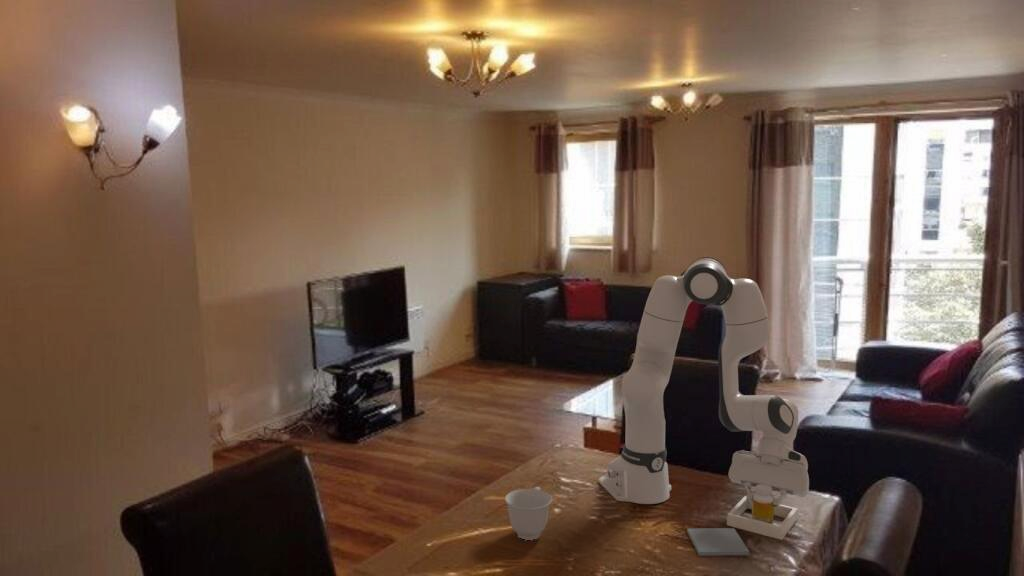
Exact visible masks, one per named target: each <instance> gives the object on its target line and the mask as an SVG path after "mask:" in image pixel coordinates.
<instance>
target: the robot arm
mask: <svg viewBox="0 0 1024 576" xmlns="http://www.w3.org/2000/svg"><path fill="white" fill-rule="evenodd" d="M692 302H695V303H698V304H701V305H707V306H708V305H710V306H718V307H721V310H722V313H723V319H724V323H725V337H724V339H723V340H722V341H721V342H720V344H719V346H718V347H719V348H718V356H717V358H718V360H717V361H718V381H719V382H718V384H719V402H718V403H719V404H718V418H719V421H720V422H721V424H722V425H723V426H724V427H725V428H726V429H727V430H728V431H729V432H731V433H734V432H745V431H746V432H747V431H748V432H762V434H761V437H760V439H759V440H758V444H757V448H756V449H757V450H756V452H755V451H746V450H744V449H740V450H737V451H735V452H734V453H733V454H732V458H731V461H732V462H731V465H730V467H729V469H728V473H727V474H728V478H729V479H730V482H731V483H734V484H740V485H744V487H745V490H746V492H747V494H746V496H747V497H746V500H747V501H750V502H752V500H753V494H754V493H751V492H750V491H751V490H752V489H753V488H756V485H758V484H764V485H769V486H771V487H772V492H778V493H779V494H780V495H779V496H778V497H777V498H775V497H774V502H773V507H777V508H780V504H781V503H782V502H783V501H784V500H786V498H787V496H788V495H790V496H796V497H800V498H805V497H806V496H808V495H809V488H810V478H809V473H808V469H809V463H808V460H807V458H806V456H805V455H803V454H801V453H800V452H797V451H795V450H794V446H793V444H794V440H795V439H796V437H797V432H798V425H799V409H798V406H797V405H796V404H795V403H794V401H793V402H792V401H791V400H789V399H787V398H784V397H780V396H778V395H773V394H758V395H757V394H756V395H753V394H750V395H749V394H747V395H746V394H745V395H744V394H742V393H741V392H740V391H739V390H740V389H739V364H740V361H741V360H742V359H743V358H745V357H748V356H749V355H752V354H753V353H756V352H758V351H759V350H761V349H762V348H763V347H764V346H765V345H766V344H767V343H768V341H769V339H770V336H771V325H770V320H769V315H768V310H767V306H766V303H765V299H764V297H763V294H762V292H761V290H760V288H759V285H758V283H757V282H756V281H754V280H753V279H750V278H745V277H744V278H742V277H741V278H736V279H735V278H731V277H730V276H728V274H727V269H726V268H725V265H724V264H723V263H722V262H721V261H719V260H718V259H716V258H713V257H709V256H705V257H700V258H697V259H696V260H695V261H693V262H692V263H691V264H690V265H689V266H688V267H687V268H686V269H684V271H683V272H682V273H681V274H680V276H677V275H671V274H670V275H669V274H668V275H666V274H665V275H662V276H659V277H658V278H656V280H655V282H654V283H653V285H652V287H651V290H650V292H649V294H648V297H647V300H646V303H645V305H644V309H643V314H642V317H641V320H640V325H639V328H638V332H637V335H636V346H635V351H634V355H633V357H634V358H633V361H632V364H631V367H630V368H629V370H628V371H627V372H626V373H625V375H624V376H623V378H622V383H621V393H622V397H623V398H622V400H623V409H624V410H623V411H624V416H625V439H624V440H625V443H621V444H620V447H619V449H622V451H621V455H619V456H618V457H615V458H614V459H613V460H611V461H609V463H608V464H607V467H606V474H603V475H602V476H600V477H599V478H598V483H599V484H600V485H601V486H602V487H603V488H604V489H605V490H606V491H607V492H608V493H609V494H610V495H611V497H613V498H614V499H615V500H616V501H618V502H630V503H635V504H640V505H655V504H660V503H663V502H665V501H667V500H669V499H670V497H671V496H670V491H671V490H672V485H671V483H670V482H669V481H670V480H669V468H668V463H667V462H666V461H667V455H668V454H667V453H668V452H667V447H666V419H665V410H664V392H665V390H666V387H667V386H668V384H669V381H670V377H671V375H672V369H673V366H674V360H675V356H676V351H677V346H678V342H679V339H680V335H681V332H682V329H683V328H682V327H683V324H684V320H685V317H686V313H687V310H688V307H689V305H690V304H691V303H692Z"/></svg>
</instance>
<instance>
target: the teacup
mask: <svg viewBox="0 0 1024 576" xmlns="http://www.w3.org/2000/svg"><path fill="white" fill-rule="evenodd" d="M504 502H505V503H506V504H507V509H508V516H509V517H508V518H509V523H510V526H511V528H512V530H513V531H514V532H515V533H517V534H516V535H518V536H517V537H518V538H519V537H520V538H522V539H525V540H524V541H527V540H531V541H534V540H533V539H535V540H538V539H539V538H540V537H539V536H541V534H540V533H542V532H543V531H544V530H545V529H546V527H547V523H548V516H549V511H550V505H551V503H553V497H552V495H551V494H549V493H548V492H547V491H544V490H543V489H541V487H540V486H535V487H534V488H520V489H519V488H518V489H515V490H512V491H510V492H509V493H507V494H506V495H505V497H504ZM520 538H519V539H520ZM522 539H521V540H522Z"/></svg>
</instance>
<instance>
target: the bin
mask: <svg viewBox="0 0 1024 576" xmlns="http://www.w3.org/2000/svg"><path fill="white" fill-rule="evenodd" d="M746 497H747V495H744V496H743V497H742V498H741V499H740V500H739V501H738V502H737V504H736V505H735V506H733V508H731V509H730V511H729V512H728V513H727V514H726V515H727V517H726V526H729V527H731V528H734V529H735V528H736V529H740V530H744V531H748V532H752V533H754V534H758V535H762V536H767V537H770V538H774V539H776V540H780V541H781V540H783V539H784V538H785V536H786V535H787V534H788V532H789V531H790V530H791V528H792V527H793V526H794V525H795V523H796V522H797V520H798V513H799V510H798V509H799V508H797V507H793V506H790V505H786V504H785V505H784V504H781V503H780V508H777V507H774V516H776V515H777V517H780V518H783V521H782V522H781V523H780V525H778V524H777V525H776V524H774V523H773V524H770V523H766V522H762V521H758V520H754V519H752V518H751V517H750V518H749V517H746V516H742V515H743V513H744V512H745V511H746V510H747V509H749V510H752V502H750V501H747V500H746Z"/></svg>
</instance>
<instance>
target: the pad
mask: <svg viewBox="0 0 1024 576" xmlns="http://www.w3.org/2000/svg"><path fill="white" fill-rule="evenodd" d="M686 533H687V535H688V537H689V539H690V541H691V543H692V545H693V547H694V546H695V547H694V549H695V551H696V552H697V555H698V556H699V557H700V556H705V557H706V556H707V557H709V556H717V557H718V556H750V550H749V549H748V546H746V544H745V543H744V540H742V538H741V537H740V535H739V533H738V532H737V531H736V529H735V527H731V528H729V527H728V528H727V527H720V528H717V527H714V528H713V527H712V528H710V527H709V528H706V527H705V528H701V527H700V528H686Z"/></svg>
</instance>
